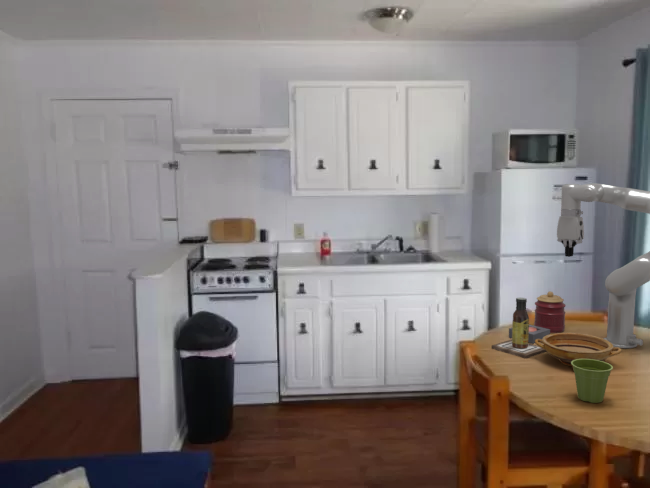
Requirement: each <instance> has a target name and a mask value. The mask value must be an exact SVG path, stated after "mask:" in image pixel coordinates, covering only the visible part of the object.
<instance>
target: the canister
mask: <svg viewBox="0 0 650 488" xmlns="http://www.w3.org/2000/svg"><path fill="white" fill-rule="evenodd" d="M536 300H537V301H535V302H534V305H535V308H534V323H533V325H534V326H538V327H542V328H546V329H550V334H555V333H564V332H565V328H566V325H565V322H566V311H565V307H566V303H564V301H565V300H564V298H562V296H561V295H560V296H559V295H558V294H557V295H556V294H554V292H553V291H548V292H546V294H541V295H540V296H537V297H536Z"/></svg>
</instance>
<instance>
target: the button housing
mask: <svg viewBox="0 0 650 488" xmlns="http://www.w3.org/2000/svg"><path fill="white" fill-rule="evenodd" d="M529 327H534V328H536V329H537V331H534V332H529V336H528V342H529V344H533V345H535V344H536V343H535V340H536V339H541V340H542V339H543V337H544V336H546V335H549V334H551V333H550V329H546V328H542V327H538V326H534V324H533V325H532V324H529ZM508 338H509V339H510V338H511V339H512V327H510V328H508ZM534 343H535V344H534Z"/></svg>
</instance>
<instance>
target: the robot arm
mask: <svg viewBox="0 0 650 488" xmlns="http://www.w3.org/2000/svg"><path fill="white" fill-rule="evenodd" d="M582 202H584V203H585V202H586V203H592V202H598V203H605V204H610V205H614V206H617V207H619V208H621V209H623V210H625V211H626V210H627V211H632V212H637V213H638V212H639V213H643V214H644V213H645V214H649V215H650V191H649V190H645V189H644V190H642V189H636V188H631V187H621V186H615V185H609V184H603V183H595V182H594V183H593V182H592V183H585V184H578V183H568V184H567V183H566V184H563V185H562V187H561V203H560V204H561V205H560V206H561V207H560V208H561V209H560V211H561V212H560V216H558V217H559V218H558V222H557V227H556V228H557V229H556V238H557V239H556V241H557V242H559V243H561V244H562V245H563V247H564V254H565V255H564V256H565V257H574V248H575V247H576V246H577V245H579V244H583V240H584V238H585V227H584V226H585V224H584V220H583V216H581V215H583V214H584V211H582V208H581V206H582V205H581V204H582ZM649 282H650V251H648V252H645V253H644V254H642V255H639V256H637V257H636V258H635V259H633V260H631V261H630V262H628V263H627V264H625V265H623V266H622V267H620V268H616V269H615V270H613V271H612V272H610V274H608V275H607V276H606V279H605V282H604V283H605V284H604V286H605V288H606V291H608V305H607V306H608V307H607V329H606V337H604V338H602V339H605V340H607V341H609V342H611V343H612V344H613V348H614V347H619V348H620V349H633V348H636V347H637V346H643V344H644V341H643V339H641V338H637V335H636V334H634V327H635V326H634V325H635V310H636V309H635V307H636V293H637V289H638V288H639V287H641V286H643V285H645V284H647V283H649Z"/></svg>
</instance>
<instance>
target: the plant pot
mask: <svg viewBox="0 0 650 488" xmlns="http://www.w3.org/2000/svg"><path fill="white" fill-rule="evenodd" d="M571 364H572V365H573V366H572V369H573V372H574V377H575V385H576V393H577V398H578V400H581V401H583V402H589V403H591V404H596V403H598V404H599V403H602V402H603V401H604V397H605V394H606V389H607V387H608V386H607V384H608V380H609V377H610V376H611V375H610V374H611V372H612V371H613V368H614V367H613V365H612V364H610V363H608V362H605V361H599V360H594V359H576V360H573V361H572V362H571Z"/></svg>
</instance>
